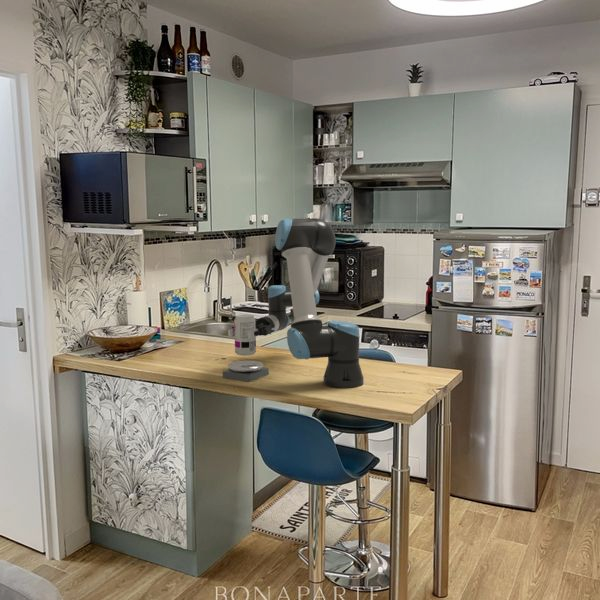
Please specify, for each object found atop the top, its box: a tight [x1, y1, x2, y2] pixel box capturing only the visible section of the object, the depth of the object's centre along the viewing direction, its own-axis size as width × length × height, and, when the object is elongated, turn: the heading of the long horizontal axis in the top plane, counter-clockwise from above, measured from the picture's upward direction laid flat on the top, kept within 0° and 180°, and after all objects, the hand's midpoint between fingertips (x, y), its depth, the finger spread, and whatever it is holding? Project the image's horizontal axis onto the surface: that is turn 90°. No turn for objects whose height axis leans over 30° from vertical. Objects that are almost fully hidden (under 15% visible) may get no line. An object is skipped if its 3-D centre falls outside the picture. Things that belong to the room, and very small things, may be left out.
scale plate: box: [227, 359, 265, 373], centre depth 252 cm, size 14×14×4 cm
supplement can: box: [233, 314, 257, 356], centre depth 250 cm, size 8×8×15 cm
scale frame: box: [222, 366, 270, 383], centre depth 252 cm, size 13×13×3 cm
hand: (238, 334), depth 246 cm, fingers closed on supplement can, 8 cm apart
